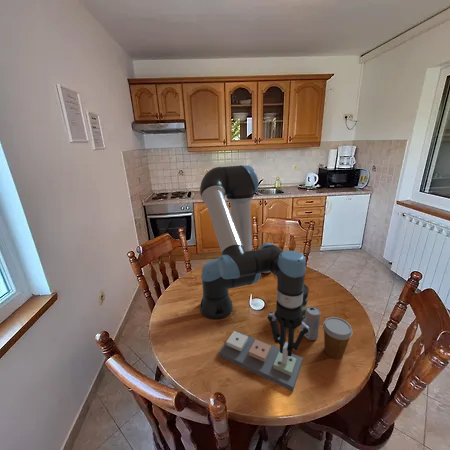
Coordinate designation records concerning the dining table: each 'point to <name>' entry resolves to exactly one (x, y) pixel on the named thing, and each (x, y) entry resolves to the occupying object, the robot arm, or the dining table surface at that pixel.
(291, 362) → the key three
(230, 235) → the robot arm
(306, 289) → the coffee can
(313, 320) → the energy drink
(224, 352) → the keypad board
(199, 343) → the dining table surface
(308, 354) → the dining table surface
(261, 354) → the key two
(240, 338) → the key one
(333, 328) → the disposable coffee cup
